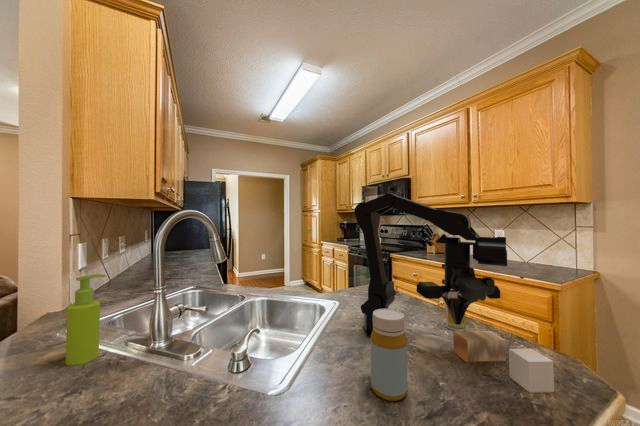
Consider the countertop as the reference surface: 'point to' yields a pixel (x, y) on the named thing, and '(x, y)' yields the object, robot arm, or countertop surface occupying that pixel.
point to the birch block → (479, 346)
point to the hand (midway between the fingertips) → (457, 324)
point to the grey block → (531, 370)
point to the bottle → (389, 355)
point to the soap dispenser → (83, 324)
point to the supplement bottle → (451, 324)
